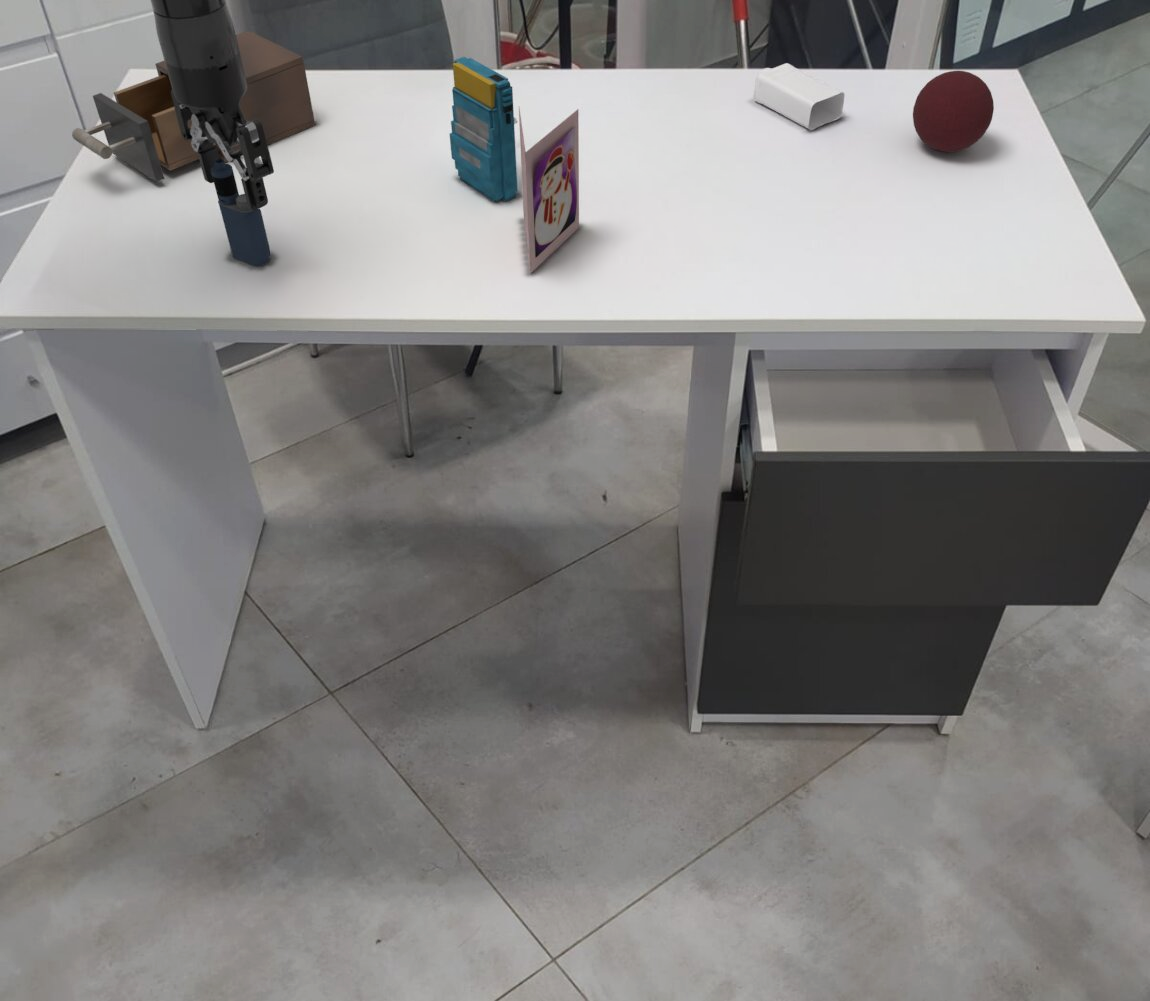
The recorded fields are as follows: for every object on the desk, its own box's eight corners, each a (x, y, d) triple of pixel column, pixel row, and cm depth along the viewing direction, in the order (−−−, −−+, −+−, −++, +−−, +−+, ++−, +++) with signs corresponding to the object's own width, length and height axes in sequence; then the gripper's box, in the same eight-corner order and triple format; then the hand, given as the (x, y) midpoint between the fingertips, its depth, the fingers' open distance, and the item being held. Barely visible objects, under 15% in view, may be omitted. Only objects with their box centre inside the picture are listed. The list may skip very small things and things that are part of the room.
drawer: (121, 196, 139) (102, 138, 134) (76, 166, 145) (55, 108, 139) (246, 144, 148) (232, 88, 143) (198, 117, 154) (184, 62, 149)
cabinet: (225, 163, 147) (208, 92, 140) (174, 132, 153) (154, 63, 146) (315, 125, 154) (302, 56, 147) (262, 97, 160) (248, 30, 154)
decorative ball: (994, 143, 149) (1014, 70, 142) (964, 173, 143) (984, 99, 136) (924, 123, 153) (941, 51, 146) (893, 151, 148) (908, 78, 141)
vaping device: (242, 246, 132) (219, 153, 124) (276, 258, 131) (254, 164, 122) (227, 256, 131) (202, 163, 122) (261, 269, 129) (238, 174, 120)
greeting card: (537, 275, 128) (532, 154, 117) (482, 258, 130) (473, 138, 120) (585, 228, 135) (585, 110, 124) (532, 213, 137) (528, 96, 127)
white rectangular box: (777, 86, 162) (781, 57, 159) (841, 119, 154) (846, 89, 151) (744, 98, 159) (747, 69, 156) (807, 132, 152) (811, 102, 149)
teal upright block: (521, 196, 140) (516, 80, 130) (495, 207, 138) (487, 91, 128) (476, 167, 145) (467, 53, 135) (450, 177, 144) (439, 63, 133)
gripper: (131, 41, 115) (173, 183, 126) (207, 83, 108) (244, 229, 119) (194, 19, 119) (229, 159, 130) (272, 58, 112) (302, 203, 123)
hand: (236, 193), depth 125 cm, fingers open, 8 cm apart
